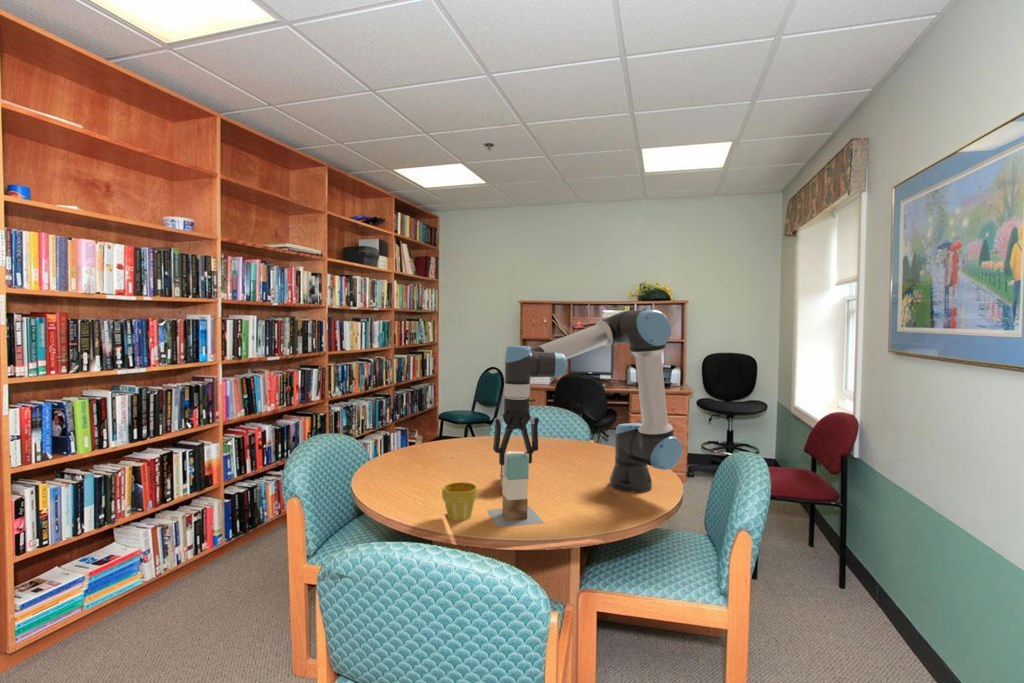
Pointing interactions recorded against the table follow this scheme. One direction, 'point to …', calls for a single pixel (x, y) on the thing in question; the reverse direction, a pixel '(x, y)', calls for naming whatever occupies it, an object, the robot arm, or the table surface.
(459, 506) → the plant pot
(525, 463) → the teal cube
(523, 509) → the walnut cube
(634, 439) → the robot arm
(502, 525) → the plate
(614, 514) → the table surface
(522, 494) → the cream cube
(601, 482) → the table surface
